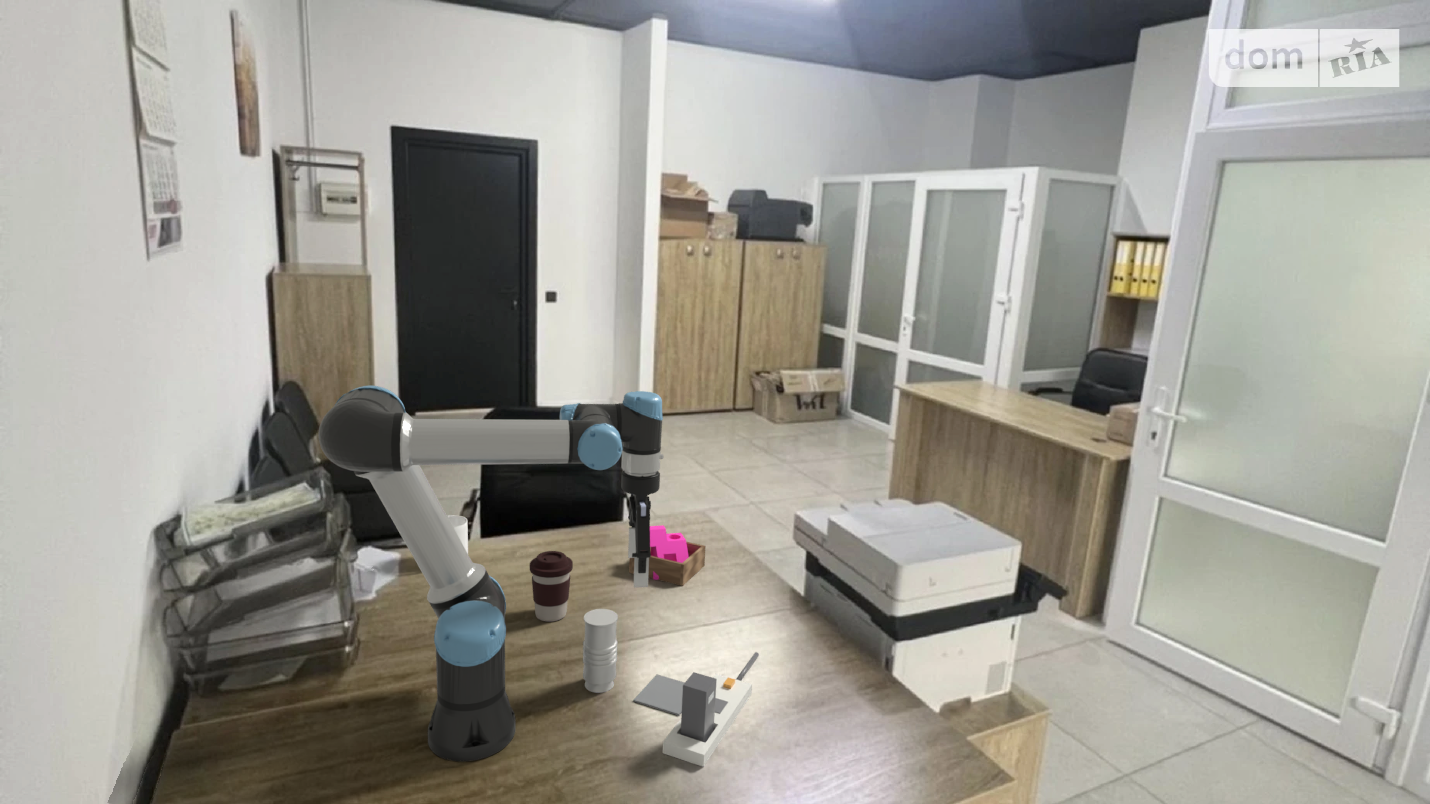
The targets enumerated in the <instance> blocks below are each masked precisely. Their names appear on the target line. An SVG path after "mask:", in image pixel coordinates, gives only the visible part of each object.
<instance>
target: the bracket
mask: <svg viewBox="0 0 1430 804" xmlns="http://www.w3.org/2000/svg"><path fill="white" fill-rule="evenodd" d="M686 542H687V540H686V538H685V537H684V534H682V532H675V533H674V532H672V533H670V532H669V533H667V528H666V527H665V525H663V524H662V525H650V547H651V552H650V553H651V556H654V557H659V558H663V559H667V560H672V561H676V562H680V563H683V562H684V561H685V560H686V559H688V558H689V556H688V550H687V544H686ZM658 579H659V576H658V575H657V574H656V573H655V572H654V571H653V579H652V580H653V581H659V580H658Z"/></svg>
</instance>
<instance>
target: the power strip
mask: <svg viewBox="0 0 1430 804" xmlns="http://www.w3.org/2000/svg"><path fill="white" fill-rule="evenodd" d="M759 656H760V654H759V652H757V651H755V652H754V653H753V655H752V656H751V657H750V659H749V660H748V661H747V663H746V665H745V666H744V667H743V668H742V670H741V671H740V673H739V674H738V675H737V677H736V678H733V677H729V676H726V675H723V674H720V673H719V674H718V673H715V674H714V675H713V676H712V678H716V679H717V681H716V699H715V716H714V731H713V733H712V734H711V736H710V737H709V738H708V740H707V741H706V743H705V742H702V741H699V740H696V739H693V738H690V737H687V736H684V735H681V718H680V719H679V720H678V721H677V723H676V724H675V725H674V727H672V729H671V731H670V732H669V733H668V735H667V736H666V737H665V738H664V739H663V741H662V754H664V755H666V756H667V755H668V756H670V757H672V758H674V759H675V758H676V759H679V760H682V761H685V762H687V763H691V764H693V765H697V766H699V767H701V768H702V767H703V768H704V767H705V765H706V764H707V762H708V761H709V759H710V758H711V756H712V755H713V753H714V752H715V751H716V749H717V748H718V746H719V744H721V741H722V740H723V738H724V737H725V736H726V734H727V732H728V731H729V729H730V728H731V727H732V725H733V723H734V722H735V720H736V719H737V717H738V716H739V714H740V713H741V711H742V710H741V709H743V708H744V706H745V705H746V704H747V701H748V700H749V698H750V697H751V696H752V691H753V683H750V682H747V681H743V680H742V679H743V678H744V677H745V675H746V674H747V672H748V671H749V670H750V668H751V667H752V665H754V662H756V660H757V659H758V657H759ZM739 712H740V713H739ZM737 715H738V716H737Z"/></svg>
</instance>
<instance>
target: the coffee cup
mask: <svg viewBox="0 0 1430 804" xmlns="http://www.w3.org/2000/svg"><path fill="white" fill-rule="evenodd" d="M573 563H574V562H573V560H572V558H570V557H568V556H567V555H566V554H565V553H564V552H561V551H558V550H548V551H543V552H540V553H538V554H537V556H535V557H534V558H533V559H532V560H531V561H530V562H529V572H530V573H531V574H532V576H531V584H532V585H531V586H532V588H531V589H532V599H533V603H534V613H535V617H536V618H537V620H540V621H542V622H550V623H551V622H556V621H559V620H562V619H564V617H566V615H567V611H568V600H569V598H570V586H571V574H570V573H571V572H572V570H573V565H574V564H573Z"/></svg>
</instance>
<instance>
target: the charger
mask: <svg viewBox="0 0 1430 804" xmlns="http://www.w3.org/2000/svg"><path fill="white" fill-rule="evenodd" d="M716 681H717V679H716V678H713V676H709V675H706V674H702V673H698V672H696V671H693V672H692V673H691V675H690V676H689V677H688V678H687V679H686V681H685V683H684V684H683V694H682V713H681V714H680V719H681V735H684V736H687V737H690V738H693V739H696V740H699V741H702V742H705V743H706V741H707V740H708V738H709V737H710V736H711V734H712V733H713V731H714V716H715V699H716Z"/></svg>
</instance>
